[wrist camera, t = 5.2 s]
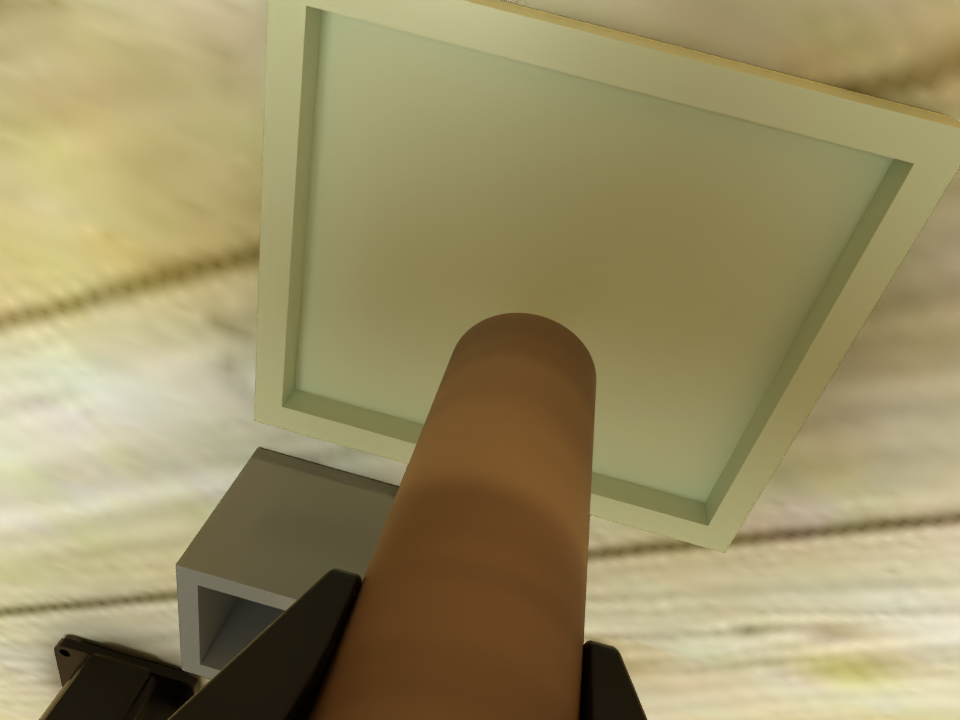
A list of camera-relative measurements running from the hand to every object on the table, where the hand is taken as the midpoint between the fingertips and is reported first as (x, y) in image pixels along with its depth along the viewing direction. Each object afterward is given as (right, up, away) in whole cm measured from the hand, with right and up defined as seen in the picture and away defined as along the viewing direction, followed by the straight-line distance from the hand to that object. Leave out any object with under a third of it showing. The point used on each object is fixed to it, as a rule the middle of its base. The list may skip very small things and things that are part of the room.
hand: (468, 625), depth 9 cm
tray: (+2, +5, +9) cm, 10 cm away
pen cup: (-5, -2, +15) cm, 16 cm away
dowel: (+1, +3, +5) cm, 6 cm away
